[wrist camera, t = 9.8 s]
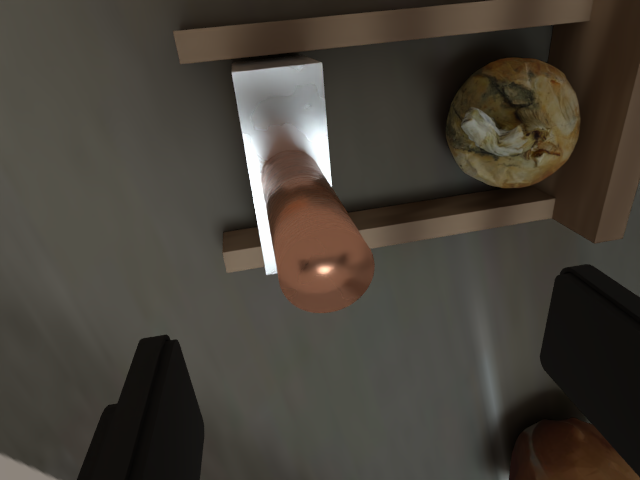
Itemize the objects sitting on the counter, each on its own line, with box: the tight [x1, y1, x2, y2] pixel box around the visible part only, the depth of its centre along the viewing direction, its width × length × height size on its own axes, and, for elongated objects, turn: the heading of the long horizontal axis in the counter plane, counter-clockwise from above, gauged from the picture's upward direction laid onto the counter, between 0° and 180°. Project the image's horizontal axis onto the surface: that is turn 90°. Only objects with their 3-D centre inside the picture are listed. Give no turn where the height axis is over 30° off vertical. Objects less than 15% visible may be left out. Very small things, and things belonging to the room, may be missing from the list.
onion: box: [446, 58, 580, 188], centre depth 25 cm, size 8×8×8 cm
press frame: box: [173, 0, 640, 273], centre depth 25 cm, size 25×14×7 cm, turn 95°
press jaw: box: [232, 55, 374, 313], centre depth 19 cm, size 4×10×15 cm, turn 5°
